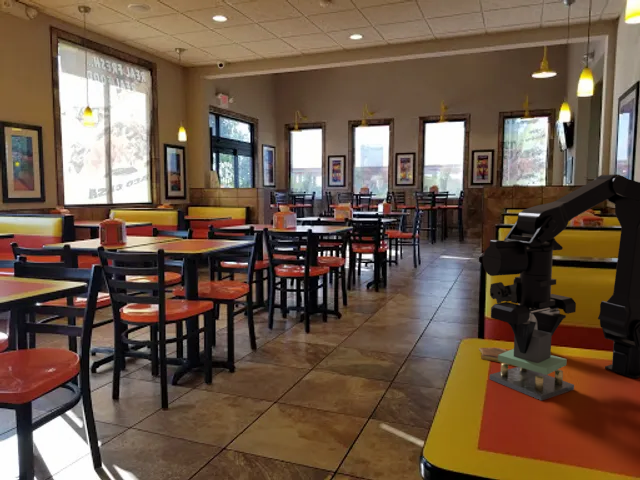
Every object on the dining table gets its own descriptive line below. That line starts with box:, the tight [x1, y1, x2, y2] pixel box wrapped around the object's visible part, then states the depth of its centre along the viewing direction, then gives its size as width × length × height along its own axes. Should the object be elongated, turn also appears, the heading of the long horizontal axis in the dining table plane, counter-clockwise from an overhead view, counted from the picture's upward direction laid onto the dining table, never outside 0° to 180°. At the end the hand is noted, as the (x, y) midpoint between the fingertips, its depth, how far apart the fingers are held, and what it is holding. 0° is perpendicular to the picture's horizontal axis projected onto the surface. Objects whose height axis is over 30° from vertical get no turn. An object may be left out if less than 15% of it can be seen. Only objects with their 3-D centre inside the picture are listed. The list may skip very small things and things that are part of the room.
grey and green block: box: [498, 329, 568, 375], centre depth 98 cm, size 8×10×6 cm
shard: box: [478, 347, 518, 368], centre depth 112 cm, size 11×8×2 cm
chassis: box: [488, 363, 575, 402], centre depth 98 cm, size 10×12×4 cm
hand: (532, 350), depth 98 cm, fingers closed on grey and green block, 5 cm apart
